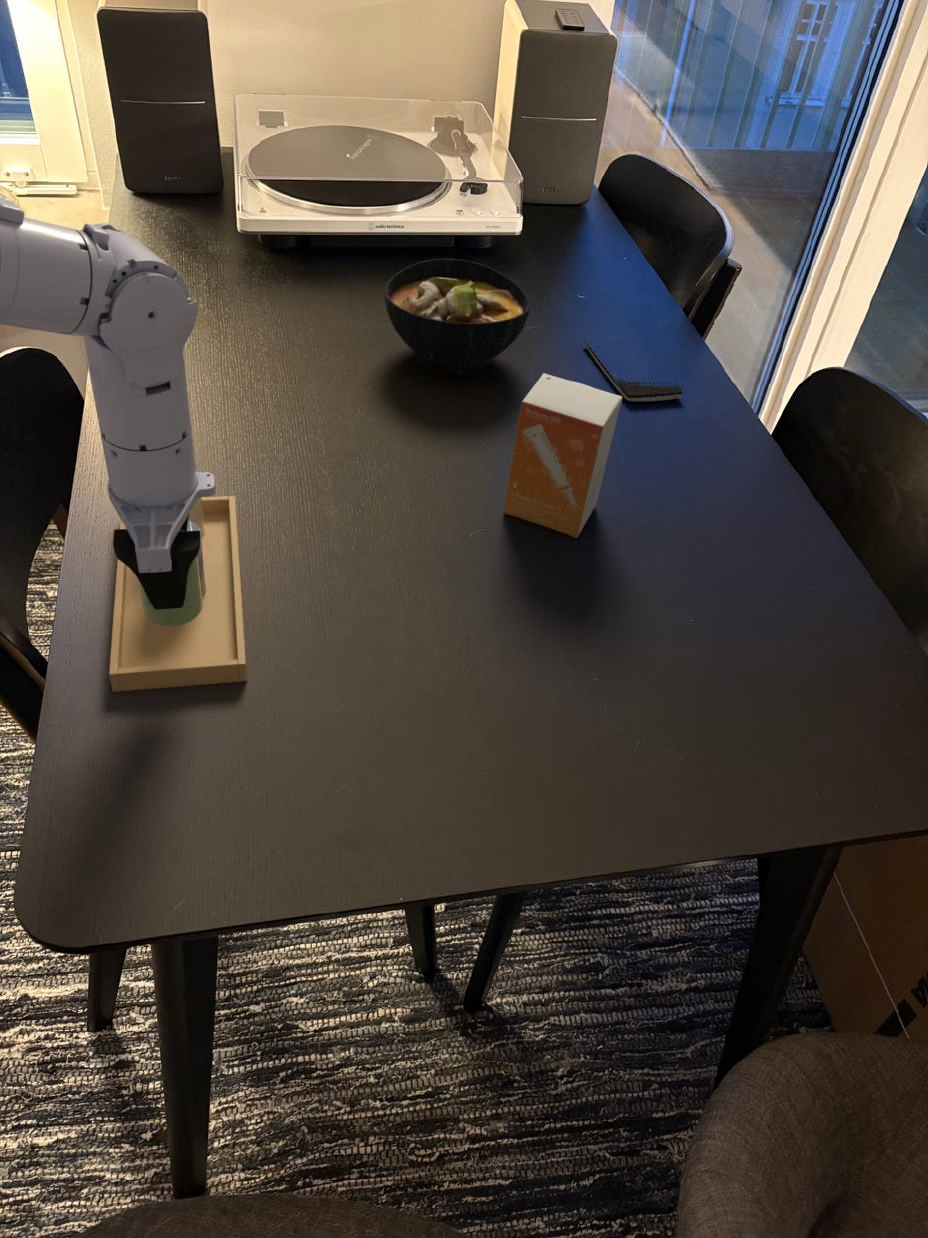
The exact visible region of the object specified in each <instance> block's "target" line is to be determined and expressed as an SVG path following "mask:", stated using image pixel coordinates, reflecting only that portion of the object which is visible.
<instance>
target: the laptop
mask: <svg viewBox="0 0 928 1238" xmlns="http://www.w3.org/2000/svg"><path fill="white" fill-rule="evenodd" d="M583 345H584V346H585V347H586V349H587V351H588V352H589V354H590V355H591V357H592V358H593V359H594V361H595V363H596V364H597V365H598V366H599V367H600V369H601V370H602V372H603V373H604V375H605V377H607V379H608V380H609V381H610V383H612V385H613V386H614V387H615V388H616V390H617V391H618V392H619V394H620V395H621V396H622V398H623V397H624V399H625V400H626V401H629V402H659V401H668V400H675V399H680V398H682V397H683V395H684V392H683V390H682V389H681V387H680V386H679V385H678V386H675V385H674V386H675V387H674V386H671V385H670V386H671V387H670V386H669V387H668V386H667V387H664V386H663V387H664V388H662V386H661V387H660V386H656V387H655V385H653V386H654V387H653V386H650V385H649V386H646V385H643V386H642V385H639V384H643V383H644V382H643V383H640V382H638V383H637V382H636V383H635V382H632V383H631V382H628V381H627V383H626V381H625V382H623V380H621V381H618V380H616V381H617V382H618V384H619V386H620V387H621V388H620V387H619V386H618V384H617V383H616V382H615V380H614V379H613V378H612V376H611V375H610V374H609V372H608V371H607V370H606V368H605V367H604V366H603V364H602V363H601V362H600V360H599V359H598V358H597V356H596V355H595V354H594V352H593V351H592V350H591V348H590V347H589V346H588V344H587V343H586V342H585V340H584V339H583ZM619 380H620V379H619ZM652 383H653V382H652ZM630 384H631V385H630ZM632 384H633V385H632ZM634 384H635V385H634ZM637 384H638V385H637ZM644 384H647V383H644ZM649 384H651V383H649ZM653 384H655V383H653ZM658 384H660V383H658ZM663 384H664V383H663ZM667 384H668V383H667ZM669 384H672V383H669ZM673 384H677V383H676V382H675V383H673ZM651 385H652V384H651ZM645 386H646V387H645ZM621 389H622V390H621ZM624 393H625V394H624ZM682 393H683V395H676V394H682ZM674 394H675V396H667V395H674ZM664 395H666V397H656V396H664ZM653 396H654V397H653ZM643 397H653V398H643Z"/></svg>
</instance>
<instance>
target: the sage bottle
mask: <svg viewBox="0 0 928 1238" xmlns="http://www.w3.org/2000/svg"><path fill="white" fill-rule="evenodd" d="M181 531H184V530H181V529H180V530H179V532H181ZM137 579H138V578H137ZM138 584H139V590H140V596H141V602H142V607H143V612H144V615H145V616H146V618H147V619H149V620H150V621H151V622H153V623H155V624H158V625H162V626H178V625H182V624H185V623H188V622H190V621H192V620H193V619H195V618H196V617H197V616H198V615H199V613H200V612H201V610H202V606H203V603H202V594H201V586H200V577H199V568H198V560H197V556H196V558H195V559H194V560H193V562H192V564H191V566H190V569H189V572H188V577H187V587H186V596H185V601H184V605H183V607H182V608H173V609H158V610H156V609H154V608H153V606H152V604H151V603H150V601H149V599H148V597H147V595H146V593H145V591H144V589H143V587H142V585H141V583H140V581H139V580H138Z"/></svg>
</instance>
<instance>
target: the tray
mask: <svg viewBox="0 0 928 1238" xmlns="http://www.w3.org/2000/svg"><path fill="white" fill-rule="evenodd" d="M236 502H237V501H236V496H235V495H222V496H221V495H219V496H209V497H202V504H203V513H204V523H205V533H204V535H203V536H202V538H201V539H202V548H203V557H204V566H205V575H206V584H207V588H206V591H205V593H204V595H203V596H202V603H203V606H202V610H201V612H200V613H199V615H198V616H197V617H196V618H195V619H193V620H192V621H190V622H188V623H185V624H182V625H178V626H162V625H158V624H155V623H153V622H151V621H150V620H149V619H147V618H146V616H145V615H144V612H143V607H142V602H141V596H140V590H139V584H138V579H137V577H136V575H135V574H134V573H133V572H132V570H131V569H130V568H129V567H128V566H126V565H125V564H124V563H123V562H121V561H120V560H118V558H117V561H116V575H115V588H114V603H113V616H112V629H111V643H110V655H109V656H110V657H109V670H108V676H109V680H110V684H111V690H112V693H116V692H117V693H119V692H131V691H141V690H143V691H144V690H151V689H152V690H154V689H155V690H156V689H164V688H165V689H167V688H177V687H179V688H180V687H190V686H191V687H192V686H203V685H217V684H228V683H238V682H239V683H241V682H247V681H248V673H247V672H248V669H247V660H246V659H247V657H246V641H245V625H244V612H243V611H244V609H243V593H242V580H241V579H242V578H241V562H240V549H239V547H240V546H239V533H238V519H237V518H238V516H237V504H236ZM119 518H120V517H119ZM119 520H120V521H119V529H126V527H125V525H124V524H123V522H122V520H121V518H120V519H119Z"/></svg>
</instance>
